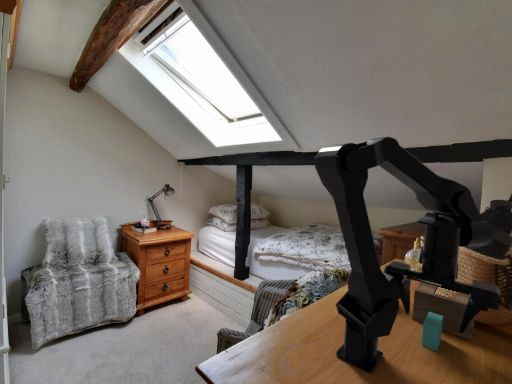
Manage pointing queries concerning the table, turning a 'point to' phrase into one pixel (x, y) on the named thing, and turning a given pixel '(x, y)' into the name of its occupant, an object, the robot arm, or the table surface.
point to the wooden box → (442, 309)
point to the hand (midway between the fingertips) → (433, 322)
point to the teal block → (432, 331)
